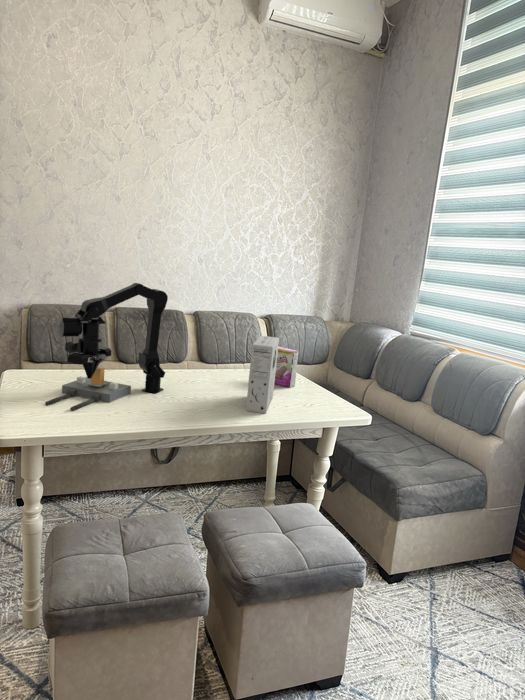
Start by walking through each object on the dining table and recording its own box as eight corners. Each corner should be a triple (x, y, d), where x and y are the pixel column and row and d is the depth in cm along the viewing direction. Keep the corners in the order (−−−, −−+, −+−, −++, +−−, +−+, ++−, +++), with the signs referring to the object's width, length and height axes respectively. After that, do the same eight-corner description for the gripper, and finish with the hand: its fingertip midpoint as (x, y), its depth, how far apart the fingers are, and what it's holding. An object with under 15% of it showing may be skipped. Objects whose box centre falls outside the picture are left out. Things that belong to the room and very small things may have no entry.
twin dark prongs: (73, 394, 185) (73, 391, 185) (100, 400, 182) (100, 396, 182) (43, 405, 171) (44, 401, 170) (72, 411, 168) (73, 407, 167)
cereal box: (254, 395, 207) (260, 335, 203) (272, 397, 206) (279, 337, 202) (245, 410, 186) (252, 344, 181) (266, 413, 185) (273, 346, 181)
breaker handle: (95, 381, 192) (96, 365, 191) (107, 384, 191) (107, 367, 189) (87, 384, 187) (87, 368, 186) (99, 387, 186) (99, 370, 185)
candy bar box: (268, 382, 229) (272, 347, 226) (274, 381, 233) (277, 346, 230) (289, 388, 224) (293, 351, 220) (295, 386, 228) (299, 350, 225)
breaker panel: (85, 384, 199) (85, 372, 198) (130, 393, 194) (131, 380, 193) (58, 394, 184) (58, 381, 183) (106, 404, 178) (107, 390, 177)
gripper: (87, 329, 191) (85, 369, 194) (53, 336, 174) (53, 380, 177) (112, 333, 188) (111, 374, 191) (81, 340, 171) (80, 385, 174)
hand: (89, 378), depth 183 cm, fingers closed
